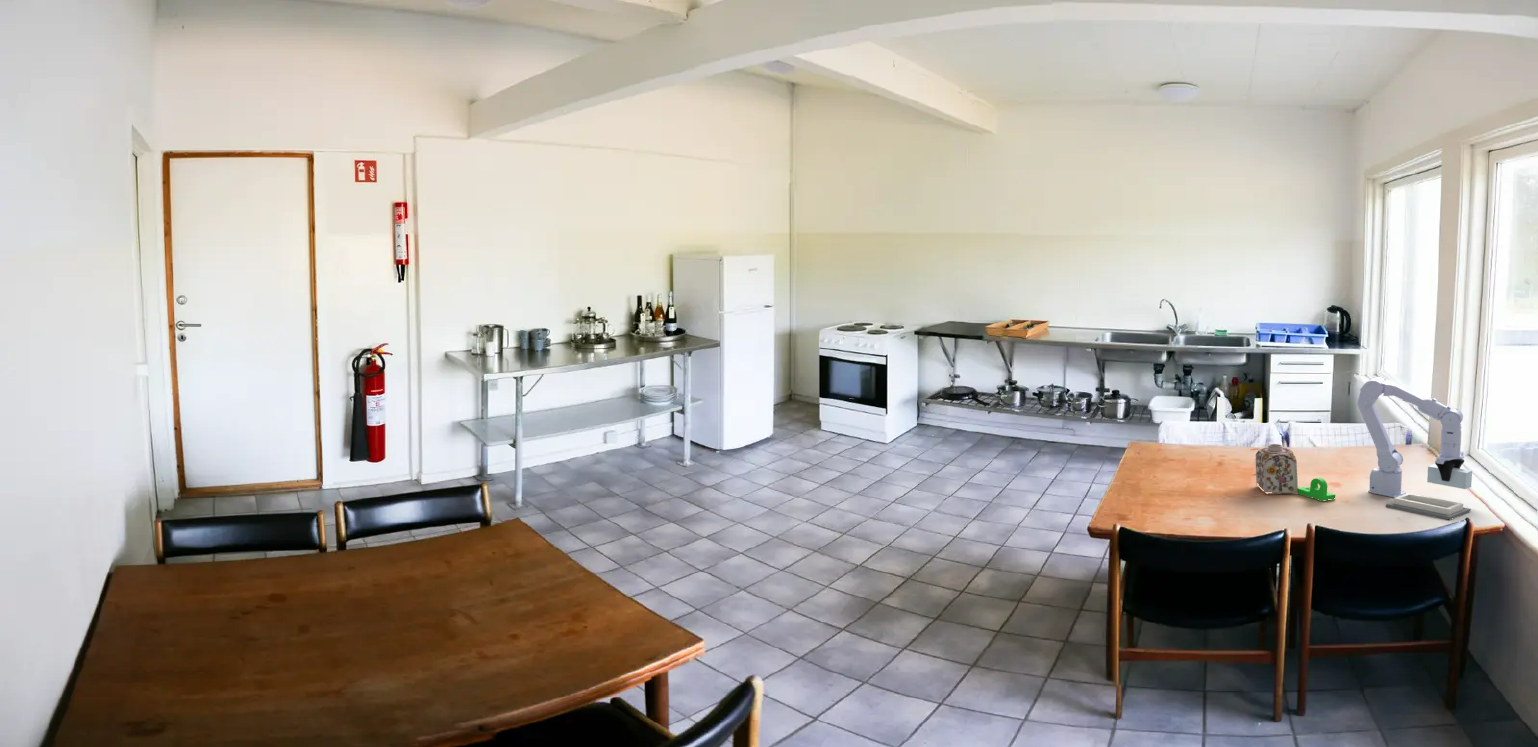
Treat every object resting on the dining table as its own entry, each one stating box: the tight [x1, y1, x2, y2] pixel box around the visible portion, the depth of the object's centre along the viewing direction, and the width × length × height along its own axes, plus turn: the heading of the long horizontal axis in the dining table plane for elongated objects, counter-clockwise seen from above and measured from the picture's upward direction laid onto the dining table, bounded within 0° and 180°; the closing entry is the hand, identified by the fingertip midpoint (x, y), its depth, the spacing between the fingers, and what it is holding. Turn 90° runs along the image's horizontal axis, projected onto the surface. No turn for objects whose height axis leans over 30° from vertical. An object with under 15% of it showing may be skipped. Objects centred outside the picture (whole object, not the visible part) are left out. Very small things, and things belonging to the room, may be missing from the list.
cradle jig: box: [1385, 492, 1472, 520], centre depth 314 cm, size 20×14×3 cm
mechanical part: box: [1298, 477, 1336, 502], centre depth 335 cm, size 12×6×8 cm, turn 15°
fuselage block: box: [1426, 464, 1473, 490], centre depth 319 cm, size 12×4×6 cm, turn 29°
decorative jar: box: [1255, 443, 1299, 494], centre depth 345 cm, size 12×12×18 cm
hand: (1448, 479), depth 320 cm, fingers closed on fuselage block, 4 cm apart
